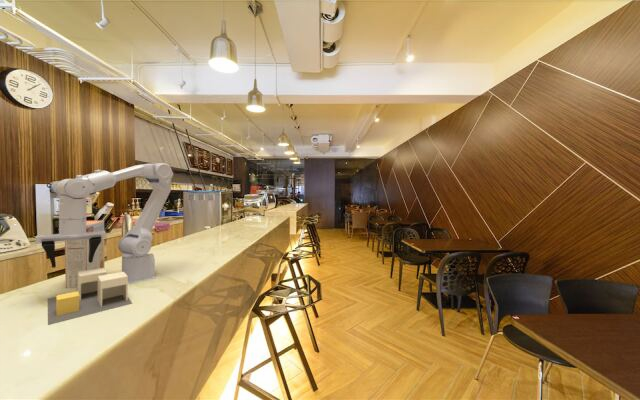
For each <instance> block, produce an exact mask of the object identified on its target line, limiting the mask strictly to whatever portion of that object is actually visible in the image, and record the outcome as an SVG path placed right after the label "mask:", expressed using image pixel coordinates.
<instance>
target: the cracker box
mask: <svg viewBox="0 0 640 400" xmlns="http://www.w3.org/2000/svg"><path fill="white" fill-rule="evenodd" d="M97 231H105V220H86V232H97ZM76 238H82V237H76ZM64 239H69V238H64ZM64 259H65V262H64V265H65V266H64V268H65V271H64V272H65V273H64V274H65V278H64V279H65V289H73V288H74V289H75V288H78V271H85V270H91V269H98V268H104V269H105V238H101V243H100V244H99V246H98V247H97V249H96V251H95V254H94V257H93V261H92V262H91V263H89V239H81V240H69V241H64Z"/></svg>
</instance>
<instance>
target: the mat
mask: <svg viewBox="0 0 640 400" xmlns="http://www.w3.org/2000/svg"><path fill="white" fill-rule="evenodd" d="M132 304H133V302H132V300H131V299H130V298H129V297H128V300H125V298H124V297H123V295H120V296H115V297H111V298H107V299H102V307H100V305H99V302H98V291H94V292H89V293H84V294H81V300H80V301H79V311H75V312H71V313H67V314H63V315H59V316H57V312H56V296H53V297H48V298H47V326H51V325H53V324H59V323H62V322H66V321H70V320H74V319H77V318H82V317H86V316H89V315H93V314H97V313H101V312H105V311H109V310H112V309H116V308H121V307H125V306H128V305H132Z"/></svg>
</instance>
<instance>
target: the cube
mask: <svg viewBox="0 0 640 400" xmlns="http://www.w3.org/2000/svg"><path fill="white" fill-rule="evenodd" d="M55 297H56V312H57V316H59V315H63V314H67V313H71V312H75V311H79V293H78V290H77V291H71V292H67V293H61V294H58V295H56V296H55Z"/></svg>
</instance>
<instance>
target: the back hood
mask: <svg viewBox="0 0 640 400" xmlns="http://www.w3.org/2000/svg"><path fill="white" fill-rule="evenodd" d="M107 274H108V273H107V269H105V267H104V268H98V269H91V270H85V271H78V287H77V291H78V293H79V301H80V300H81V294H84V293H89V292H94V291H98V276H101V275H107Z"/></svg>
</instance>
